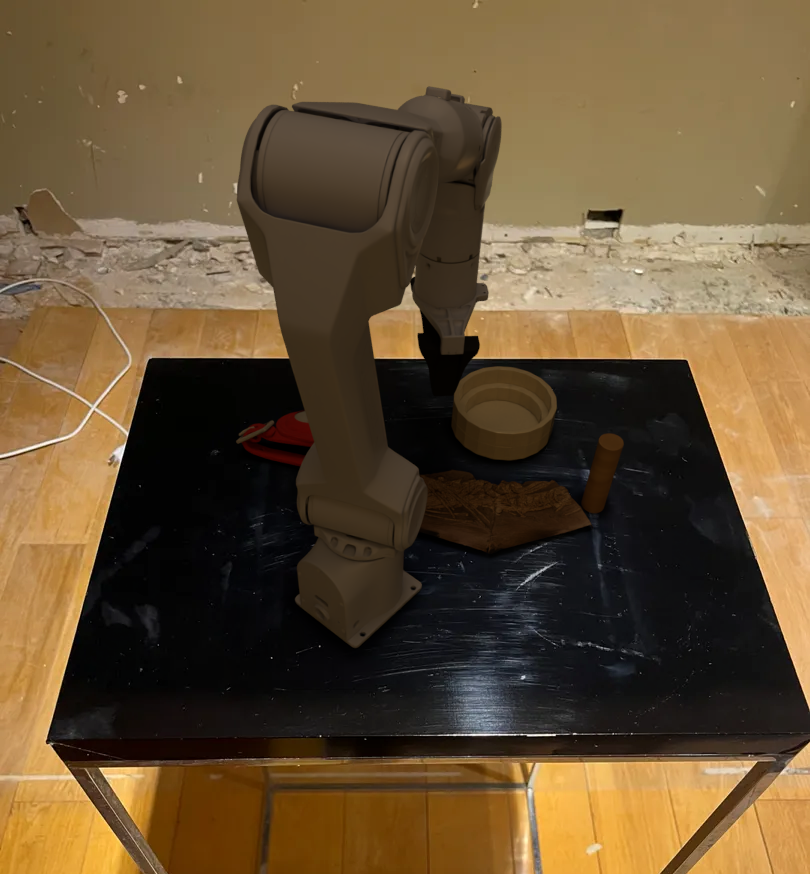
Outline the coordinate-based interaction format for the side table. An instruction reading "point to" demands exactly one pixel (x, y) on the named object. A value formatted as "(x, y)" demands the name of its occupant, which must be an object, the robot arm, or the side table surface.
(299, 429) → the tracker holder
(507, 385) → the bowl
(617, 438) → the stick
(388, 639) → the side table surface
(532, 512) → the wooden fragment
